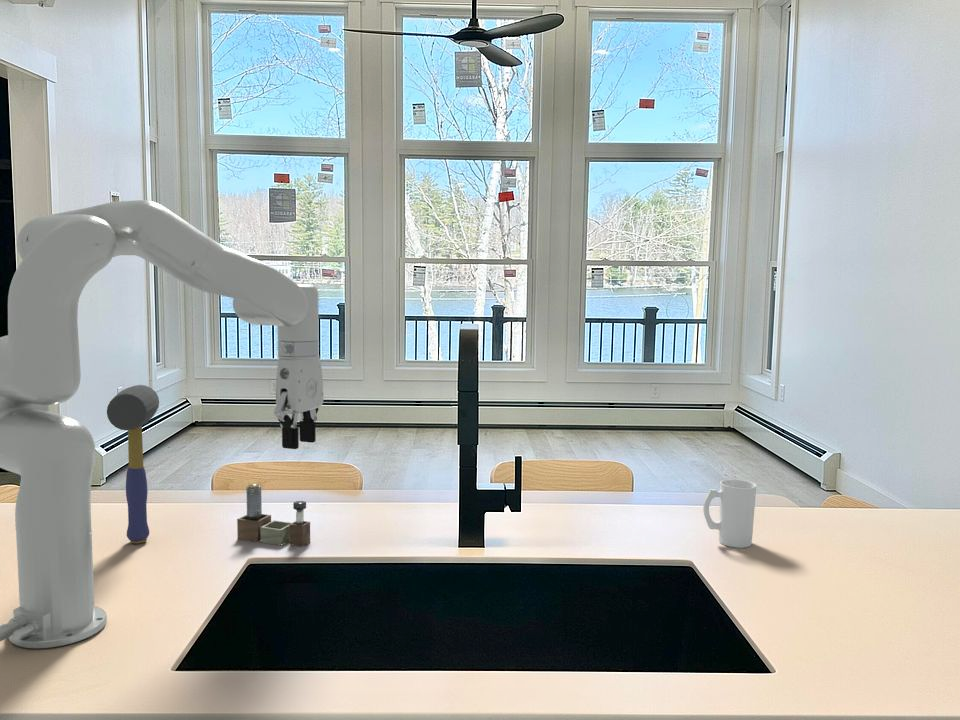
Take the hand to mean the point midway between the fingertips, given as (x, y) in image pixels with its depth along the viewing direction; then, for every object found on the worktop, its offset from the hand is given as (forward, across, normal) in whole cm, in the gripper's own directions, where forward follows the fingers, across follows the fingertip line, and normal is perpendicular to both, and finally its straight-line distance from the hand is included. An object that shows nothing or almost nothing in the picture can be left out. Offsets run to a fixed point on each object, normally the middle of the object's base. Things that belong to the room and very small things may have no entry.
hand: (299, 444), depth 151 cm
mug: (+20, +30, -78) cm, 86 cm away
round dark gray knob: (+17, 0, 0) cm, 17 cm away
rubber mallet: (+20, -10, +29) cm, 37 cm away
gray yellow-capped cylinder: (+19, 0, +10) cm, 22 cm away
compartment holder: (+19, 0, +5) cm, 20 cm away
